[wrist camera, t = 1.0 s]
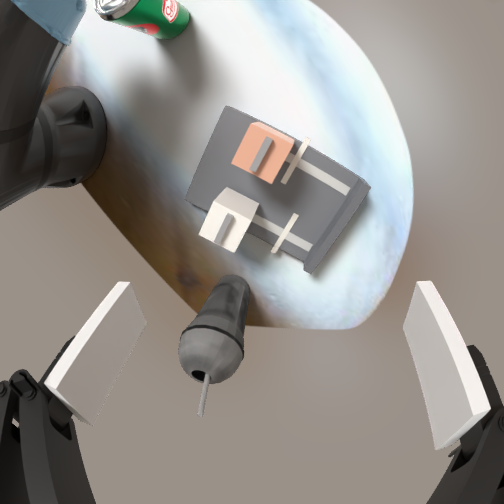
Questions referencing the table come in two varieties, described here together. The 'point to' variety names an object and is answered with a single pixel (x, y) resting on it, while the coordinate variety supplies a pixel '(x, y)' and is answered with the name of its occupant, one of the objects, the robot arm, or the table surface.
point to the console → (281, 191)
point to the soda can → (146, 16)
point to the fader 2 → (262, 151)
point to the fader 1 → (228, 219)
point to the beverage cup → (216, 335)
